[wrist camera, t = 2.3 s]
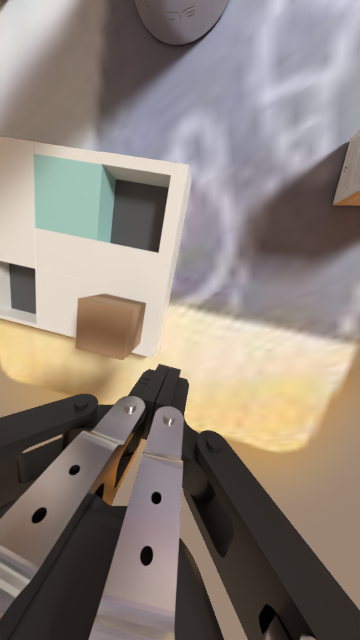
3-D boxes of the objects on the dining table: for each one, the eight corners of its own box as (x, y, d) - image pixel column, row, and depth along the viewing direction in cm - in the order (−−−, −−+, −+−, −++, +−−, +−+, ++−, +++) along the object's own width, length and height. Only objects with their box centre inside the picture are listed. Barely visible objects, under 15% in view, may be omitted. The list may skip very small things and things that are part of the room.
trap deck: (-4, 150, 21) (-36, 130, 19) (191, 181, 19) (188, 165, 16) (7, 309, 27) (-17, 313, 24) (160, 348, 25) (154, 358, 22)
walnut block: (105, 293, 21) (77, 298, 16) (146, 302, 20) (129, 310, 16) (101, 333, 22) (75, 347, 18) (140, 343, 21) (123, 360, 17)
